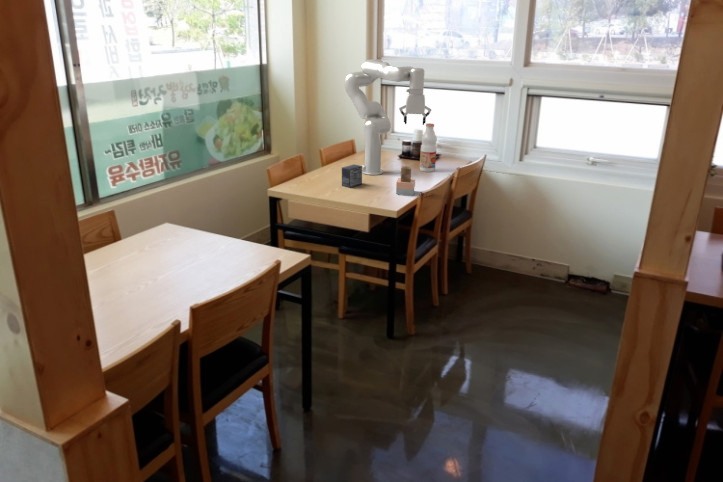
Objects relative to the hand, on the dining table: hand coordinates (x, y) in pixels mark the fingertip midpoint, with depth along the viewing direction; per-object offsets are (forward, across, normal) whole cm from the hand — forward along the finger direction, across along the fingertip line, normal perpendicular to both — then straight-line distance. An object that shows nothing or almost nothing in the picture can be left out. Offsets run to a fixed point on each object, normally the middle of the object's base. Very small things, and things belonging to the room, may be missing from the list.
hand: (414, 124), depth 323 cm
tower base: (+33, -2, -23) cm, 40 cm away
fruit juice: (+32, +8, +29) cm, 44 cm away
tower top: (+29, -2, -23) cm, 37 cm away
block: (+26, -2, -24) cm, 35 cm away
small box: (+33, -32, -14) cm, 48 cm away
